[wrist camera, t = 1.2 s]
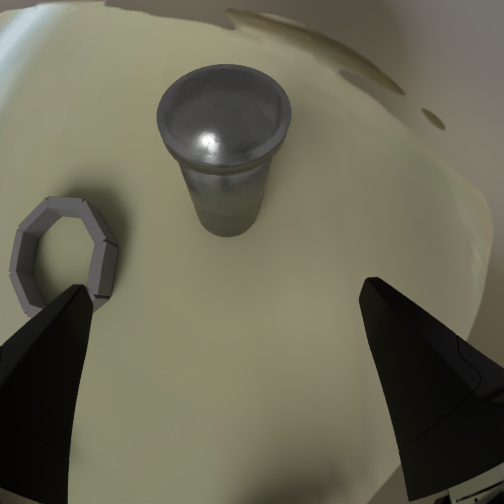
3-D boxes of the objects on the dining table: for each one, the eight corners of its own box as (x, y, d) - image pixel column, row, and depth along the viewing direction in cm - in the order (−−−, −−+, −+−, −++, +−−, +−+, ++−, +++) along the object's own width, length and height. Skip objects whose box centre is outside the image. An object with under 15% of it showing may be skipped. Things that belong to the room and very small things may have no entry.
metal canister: (275, 214, 23) (318, 120, 10) (220, 255, 22) (205, 191, 9) (234, 165, 23) (237, 50, 11) (180, 202, 22) (135, 103, 10)
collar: (138, 276, 21) (126, 272, 18) (57, 344, 19) (41, 346, 17) (84, 185, 22) (72, 173, 20) (15, 252, 20) (-1, 247, 18)
